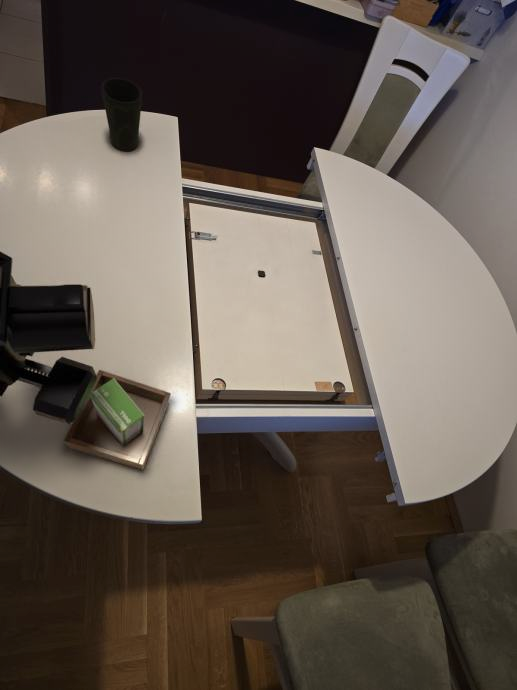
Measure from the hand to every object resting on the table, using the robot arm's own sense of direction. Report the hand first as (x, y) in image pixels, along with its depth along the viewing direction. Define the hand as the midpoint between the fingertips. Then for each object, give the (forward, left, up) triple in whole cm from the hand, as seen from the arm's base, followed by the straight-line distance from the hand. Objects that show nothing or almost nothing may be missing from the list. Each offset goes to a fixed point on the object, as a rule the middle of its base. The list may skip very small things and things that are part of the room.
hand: (19, 392), depth 48 cm
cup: (-13, +62, -13) cm, 65 cm away
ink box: (+11, +3, -12) cm, 17 cm away
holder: (+11, +3, -13) cm, 17 cm away
